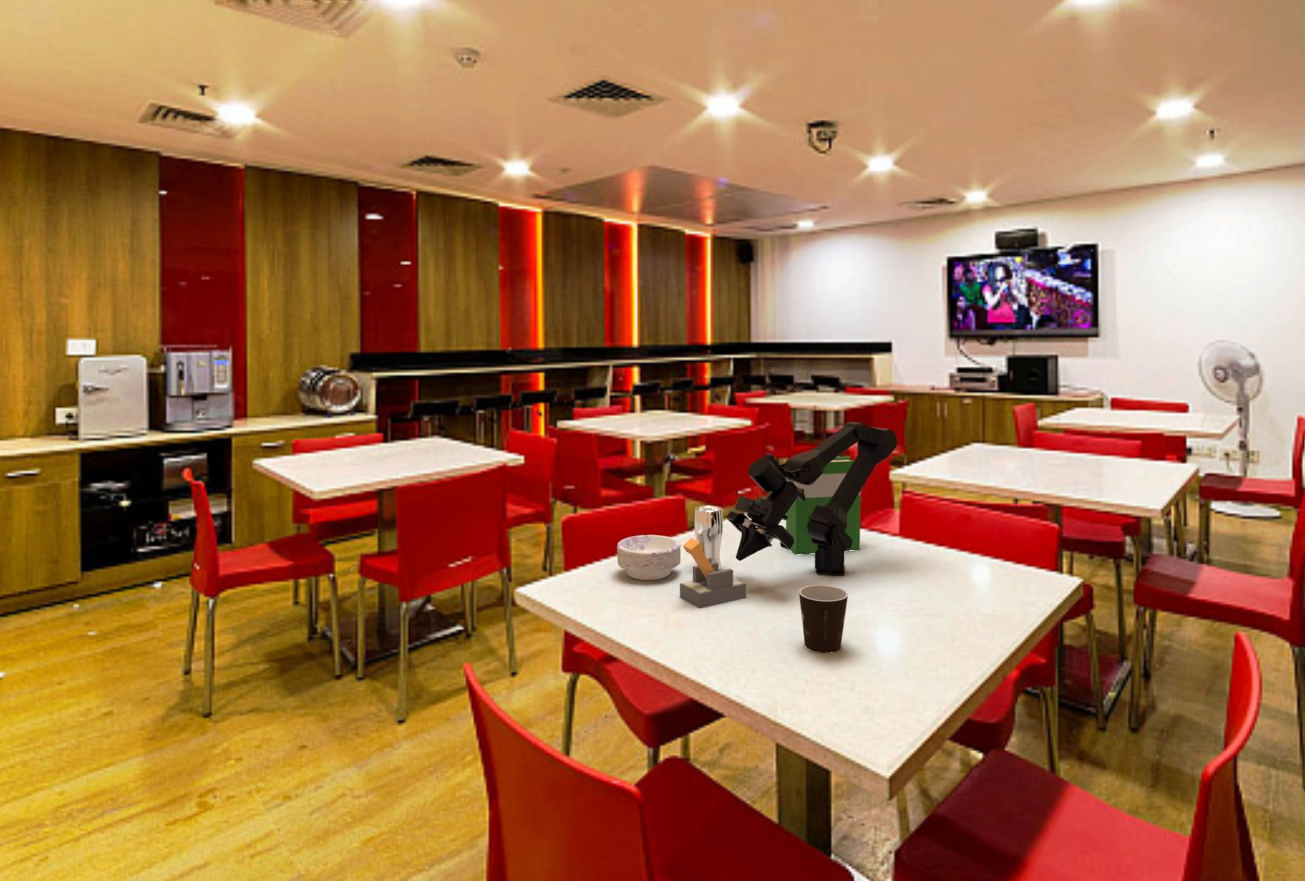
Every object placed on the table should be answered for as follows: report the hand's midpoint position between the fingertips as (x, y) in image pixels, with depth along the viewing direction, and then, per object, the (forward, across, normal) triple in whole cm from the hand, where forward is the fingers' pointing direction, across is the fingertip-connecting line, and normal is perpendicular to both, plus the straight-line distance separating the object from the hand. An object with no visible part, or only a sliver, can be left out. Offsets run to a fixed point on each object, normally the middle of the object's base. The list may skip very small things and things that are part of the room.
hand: (737, 559), depth 161 cm
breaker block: (+10, 0, 0) cm, 10 cm away
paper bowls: (+13, -21, -2) cm, 25 cm away
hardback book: (-22, -16, +33) cm, 42 cm away
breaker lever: (+7, 0, -2) cm, 7 cm away
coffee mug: (+9, +32, +2) cm, 34 cm away
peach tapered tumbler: (+3, -18, +8) cm, 20 cm away
